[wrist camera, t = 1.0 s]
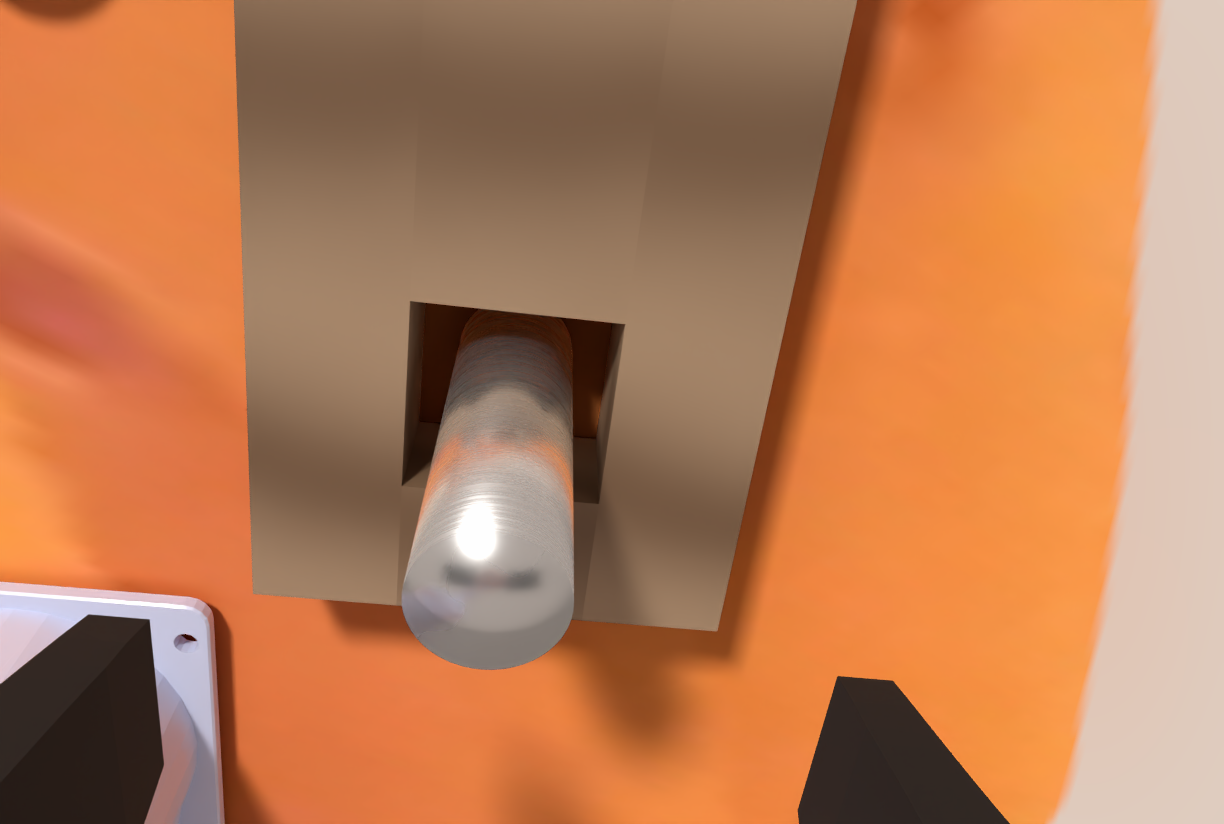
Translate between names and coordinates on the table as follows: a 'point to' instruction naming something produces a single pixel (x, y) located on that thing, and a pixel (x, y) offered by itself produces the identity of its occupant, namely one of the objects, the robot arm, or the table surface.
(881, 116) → the table surface
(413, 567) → the steel pin
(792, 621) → the table surface
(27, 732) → the robot arm
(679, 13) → the dock board
